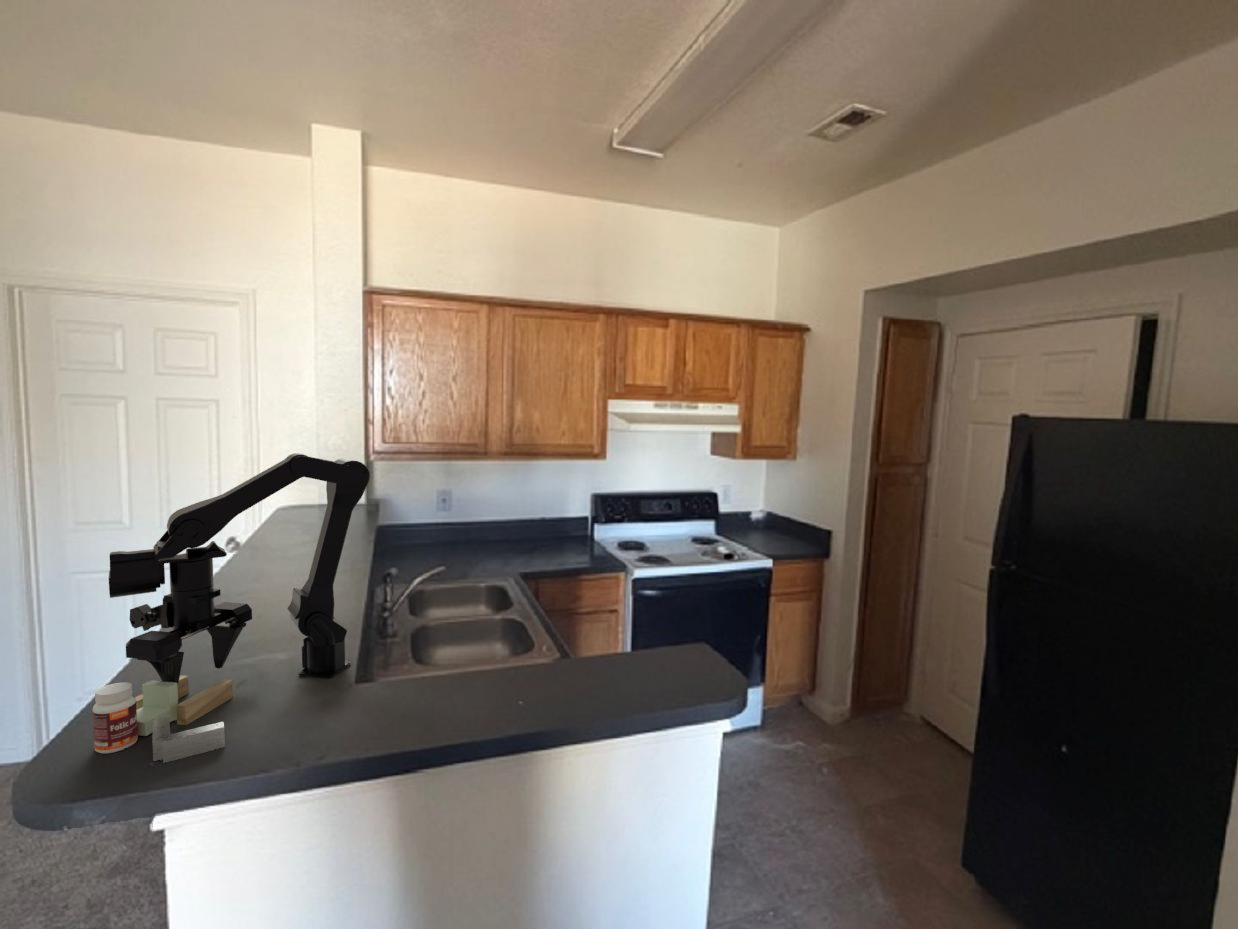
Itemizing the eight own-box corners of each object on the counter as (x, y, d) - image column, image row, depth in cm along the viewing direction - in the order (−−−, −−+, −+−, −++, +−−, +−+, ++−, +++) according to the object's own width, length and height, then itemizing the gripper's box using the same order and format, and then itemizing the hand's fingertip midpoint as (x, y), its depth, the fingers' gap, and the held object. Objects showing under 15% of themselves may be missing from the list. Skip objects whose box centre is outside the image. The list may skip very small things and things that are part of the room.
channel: (232, 697, 100) (232, 680, 100) (186, 725, 91) (185, 706, 91) (180, 692, 101) (180, 675, 101) (130, 719, 92) (129, 700, 92)
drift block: (178, 717, 93) (177, 682, 92) (145, 736, 87) (143, 699, 87) (152, 714, 93) (151, 680, 93) (118, 733, 88) (116, 696, 88)
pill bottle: (114, 756, 83) (111, 697, 82) (85, 752, 83) (81, 694, 83) (147, 738, 87) (144, 682, 87) (119, 734, 88) (116, 679, 87)
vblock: (232, 742, 87) (231, 722, 86) (195, 767, 81) (194, 745, 80) (162, 734, 88) (161, 715, 88) (121, 758, 82) (120, 737, 82)
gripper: (197, 568, 108) (200, 653, 109) (91, 600, 89) (97, 702, 91) (252, 572, 106) (255, 658, 107) (156, 606, 88) (161, 708, 89)
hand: (196, 679), depth 99 cm, fingers open, 9 cm apart
